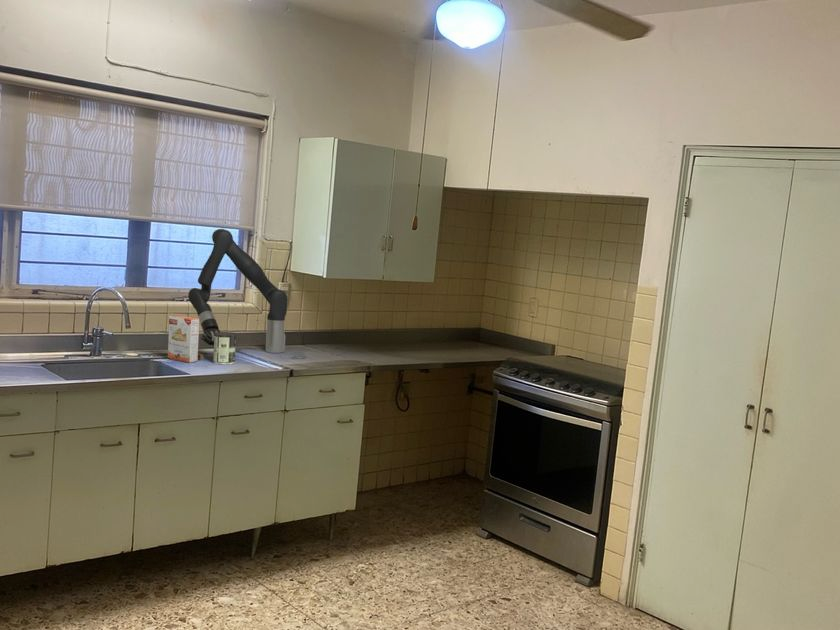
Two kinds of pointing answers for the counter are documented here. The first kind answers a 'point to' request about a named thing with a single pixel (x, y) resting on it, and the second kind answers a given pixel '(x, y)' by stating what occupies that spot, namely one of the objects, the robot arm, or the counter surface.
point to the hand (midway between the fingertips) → (218, 350)
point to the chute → (200, 356)
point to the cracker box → (183, 338)
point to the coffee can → (224, 347)
